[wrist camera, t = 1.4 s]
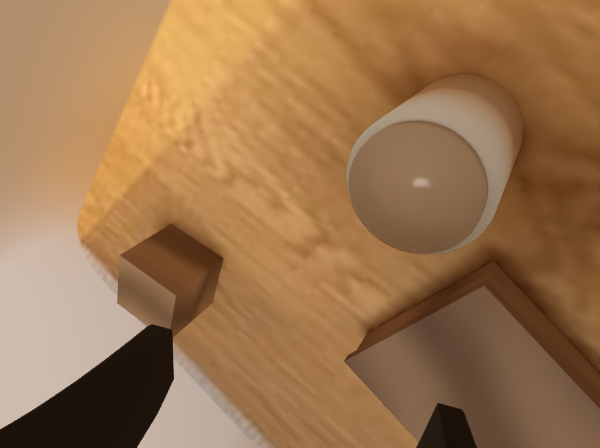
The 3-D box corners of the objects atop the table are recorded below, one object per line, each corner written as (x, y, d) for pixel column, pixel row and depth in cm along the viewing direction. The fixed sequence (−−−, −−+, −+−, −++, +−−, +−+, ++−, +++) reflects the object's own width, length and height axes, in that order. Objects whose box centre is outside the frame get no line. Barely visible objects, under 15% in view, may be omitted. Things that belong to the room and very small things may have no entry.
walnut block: (172, 223, 30) (119, 255, 26) (224, 258, 28) (176, 295, 25) (165, 268, 32) (117, 302, 29) (212, 302, 31) (168, 341, 28)
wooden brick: (494, 255, 19) (484, 285, 17) (687, 460, 19) (699, 514, 17) (362, 332, 25) (344, 361, 23) (508, 490, 25) (502, 533, 23)
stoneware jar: (465, 47, 16) (413, 77, 11) (551, 137, 16) (537, 207, 11) (382, 130, 19) (313, 182, 14) (455, 206, 19) (409, 286, 14)
